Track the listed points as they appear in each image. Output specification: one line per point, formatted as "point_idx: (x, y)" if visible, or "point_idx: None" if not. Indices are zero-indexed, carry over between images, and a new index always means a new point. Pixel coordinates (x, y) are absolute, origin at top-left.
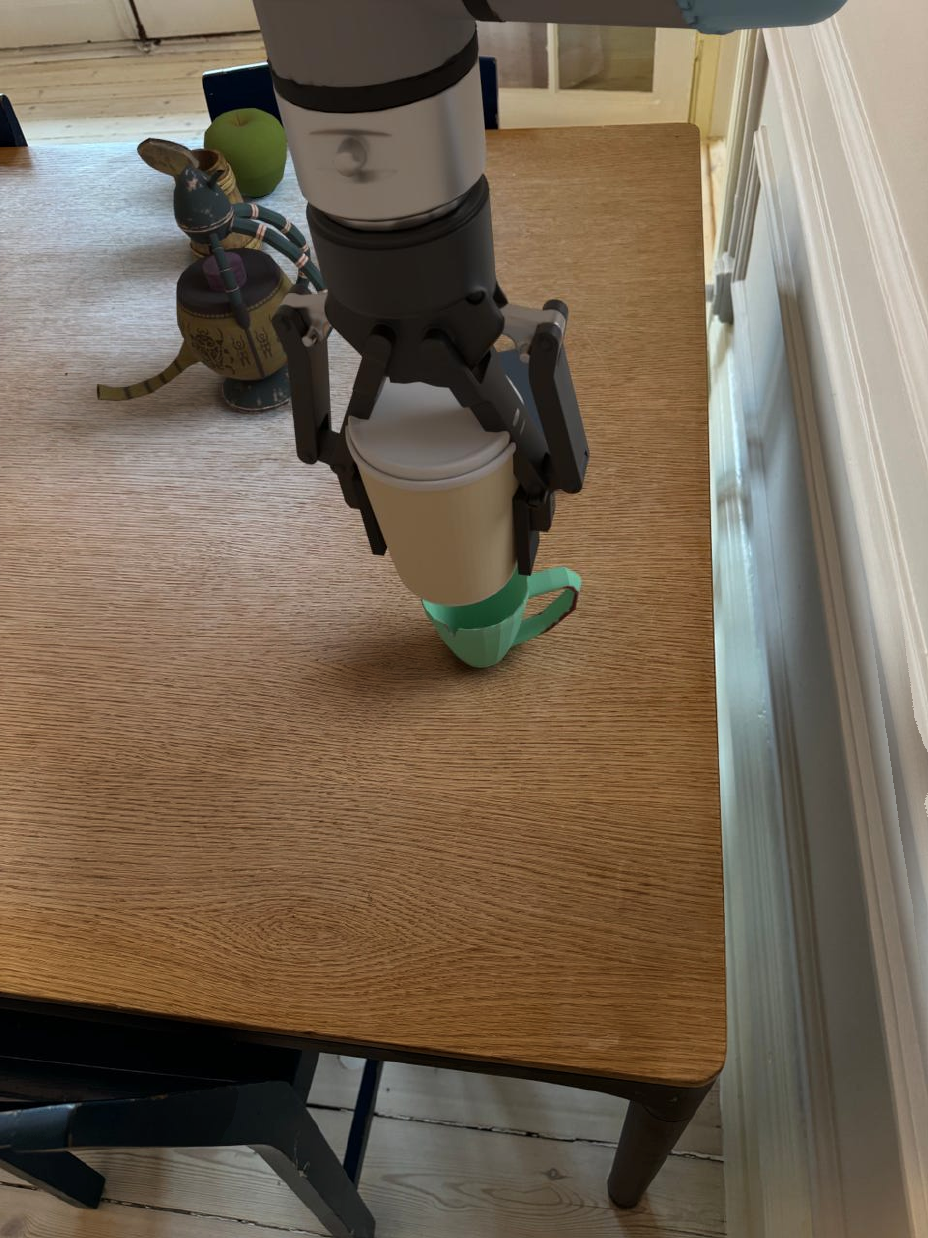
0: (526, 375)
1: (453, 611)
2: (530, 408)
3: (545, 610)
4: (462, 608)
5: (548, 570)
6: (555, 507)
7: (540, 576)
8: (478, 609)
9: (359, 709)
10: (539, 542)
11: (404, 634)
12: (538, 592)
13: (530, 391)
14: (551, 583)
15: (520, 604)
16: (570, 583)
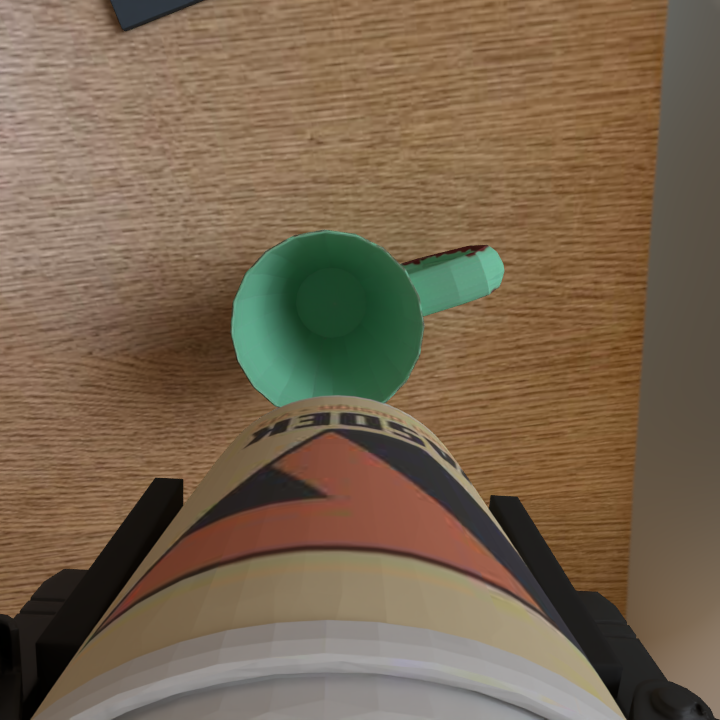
0: None
1: (282, 282)
2: None
3: (426, 261)
4: (294, 269)
5: (452, 271)
6: (616, 608)
7: (439, 285)
8: (318, 259)
9: (180, 422)
10: (516, 497)
11: (208, 293)
12: (436, 311)
13: None
14: (459, 299)
15: (396, 292)
16: (490, 290)
